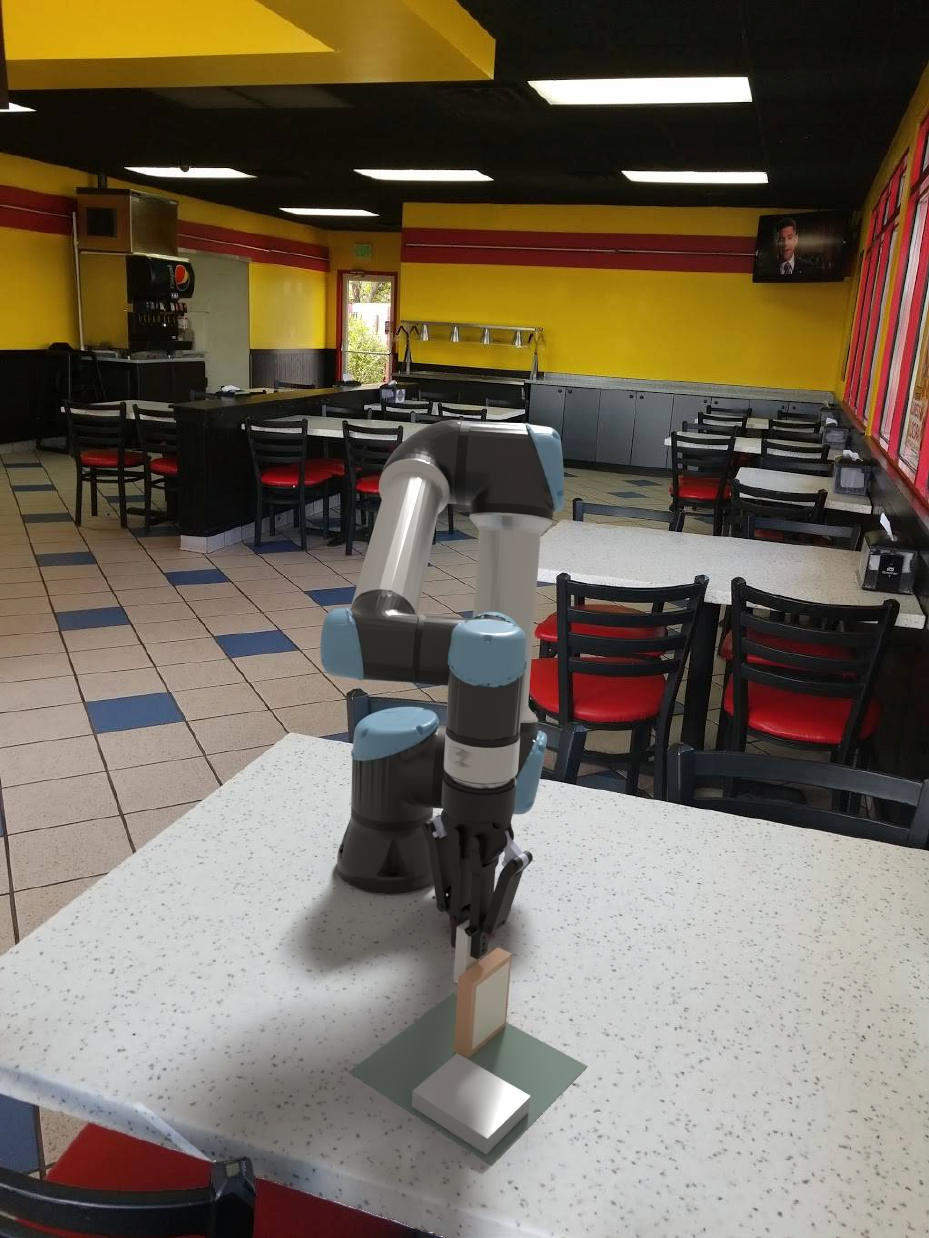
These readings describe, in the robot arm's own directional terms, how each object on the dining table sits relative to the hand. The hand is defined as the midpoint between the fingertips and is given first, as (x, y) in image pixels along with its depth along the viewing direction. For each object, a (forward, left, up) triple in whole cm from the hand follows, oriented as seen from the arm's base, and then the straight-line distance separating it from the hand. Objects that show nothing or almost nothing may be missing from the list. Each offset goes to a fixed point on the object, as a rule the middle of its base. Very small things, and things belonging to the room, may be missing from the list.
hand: (466, 978), depth 103 cm
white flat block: (+3, -9, -6) cm, 11 cm away
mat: (+4, -4, -7) cm, 9 cm away
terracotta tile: (+2, 0, -7) cm, 7 cm away
